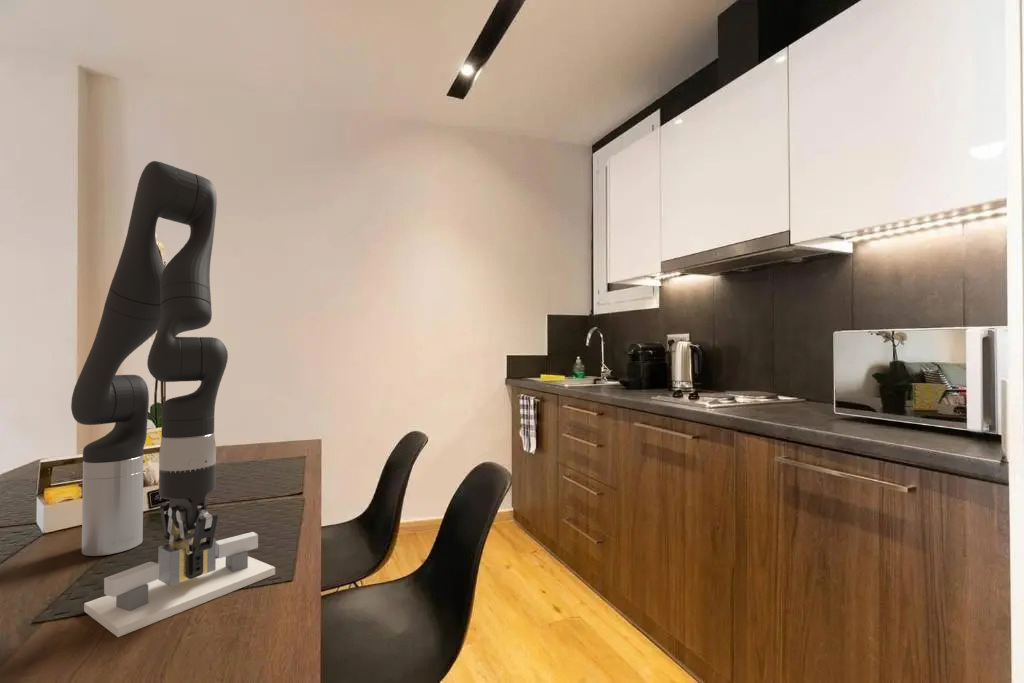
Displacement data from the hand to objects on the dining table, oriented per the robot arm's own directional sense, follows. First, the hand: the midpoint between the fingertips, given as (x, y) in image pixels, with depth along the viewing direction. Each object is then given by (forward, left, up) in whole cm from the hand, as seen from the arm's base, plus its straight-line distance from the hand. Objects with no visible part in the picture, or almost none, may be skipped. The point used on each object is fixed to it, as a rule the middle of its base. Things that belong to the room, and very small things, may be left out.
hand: (187, 572), depth 78 cm
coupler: (0, 0, 0) cm, 0 cm away
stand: (0, 0, -3) cm, 3 cm away
